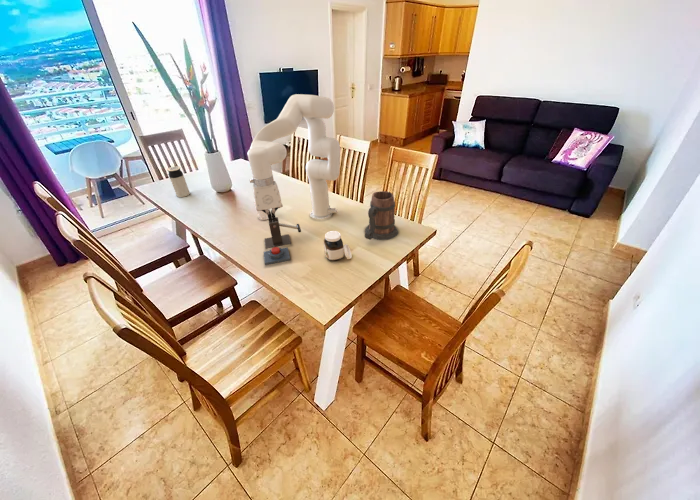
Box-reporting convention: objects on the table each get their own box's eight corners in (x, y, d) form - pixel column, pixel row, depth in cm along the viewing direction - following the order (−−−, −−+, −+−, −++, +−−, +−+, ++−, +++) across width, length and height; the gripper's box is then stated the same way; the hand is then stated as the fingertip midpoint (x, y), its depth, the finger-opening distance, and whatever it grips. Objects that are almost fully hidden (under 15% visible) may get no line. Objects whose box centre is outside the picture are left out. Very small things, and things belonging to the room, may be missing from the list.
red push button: (279, 249, 134) (279, 246, 133) (280, 253, 131) (279, 250, 130) (271, 250, 133) (270, 247, 132) (272, 255, 131) (271, 252, 130)
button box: (288, 251, 139) (287, 244, 137) (290, 262, 132) (289, 255, 130) (264, 255, 137) (262, 248, 135) (265, 267, 130) (263, 259, 127)
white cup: (268, 221, 163) (265, 204, 157) (255, 220, 165) (251, 203, 159) (274, 214, 170) (271, 198, 164) (261, 213, 171) (258, 197, 165)
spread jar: (322, 252, 137) (320, 231, 131) (345, 246, 141) (344, 225, 134) (331, 267, 128) (330, 245, 122) (355, 260, 132) (355, 238, 125)
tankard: (375, 219, 161) (375, 185, 150) (403, 227, 154) (406, 192, 142) (351, 240, 145) (350, 203, 134) (382, 250, 138) (384, 212, 126)
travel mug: (192, 192, 198) (183, 166, 188) (185, 197, 192) (175, 170, 181) (181, 192, 199) (171, 166, 189) (174, 197, 192) (163, 170, 182)
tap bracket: (289, 236, 150) (285, 213, 143) (291, 245, 143) (287, 222, 135) (264, 240, 147) (259, 217, 140) (266, 250, 140) (260, 227, 133)
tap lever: (298, 227, 147) (299, 223, 146) (300, 233, 142) (301, 229, 141) (269, 222, 141) (271, 217, 140) (270, 228, 136) (272, 223, 135)
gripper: (244, 187, 111) (255, 228, 122) (284, 181, 114) (291, 222, 125) (244, 179, 117) (254, 219, 128) (281, 174, 120) (289, 213, 131)
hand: (272, 220), depth 127 cm, fingers closed
